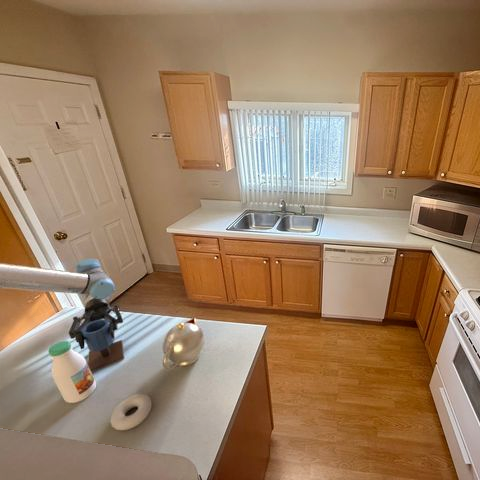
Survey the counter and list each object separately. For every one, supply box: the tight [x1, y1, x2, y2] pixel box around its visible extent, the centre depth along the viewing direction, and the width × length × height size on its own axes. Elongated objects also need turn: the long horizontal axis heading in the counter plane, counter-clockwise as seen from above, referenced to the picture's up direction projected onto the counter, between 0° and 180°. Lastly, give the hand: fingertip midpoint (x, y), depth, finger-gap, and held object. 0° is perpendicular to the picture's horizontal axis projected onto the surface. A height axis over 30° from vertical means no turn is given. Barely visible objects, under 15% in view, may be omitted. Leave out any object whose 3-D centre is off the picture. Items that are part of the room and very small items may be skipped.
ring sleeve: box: [81, 319, 115, 351], centre depth 91 cm, size 7×7×8 cm
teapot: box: [162, 317, 206, 372], centre depth 91 cm, size 18×14×16 cm
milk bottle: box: [47, 340, 97, 404], centre depth 78 cm, size 8×8×20 cm
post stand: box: [87, 339, 125, 372], centre depth 93 cm, size 10×10×10 cm
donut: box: [110, 393, 152, 432], centre depth 76 cm, size 10×4×10 cm
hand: (97, 340), depth 86 cm, fingers closed on ring sleeve, 7 cm apart
